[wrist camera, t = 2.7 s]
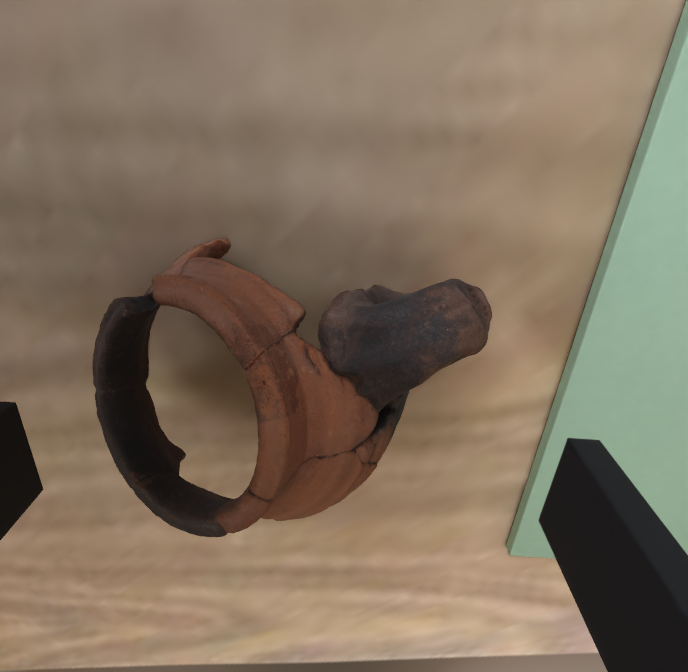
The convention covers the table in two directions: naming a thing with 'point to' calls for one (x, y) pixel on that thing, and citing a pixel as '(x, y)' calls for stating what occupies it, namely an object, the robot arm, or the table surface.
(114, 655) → the table surface
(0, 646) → the table surface
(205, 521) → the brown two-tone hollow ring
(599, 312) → the desk mat
